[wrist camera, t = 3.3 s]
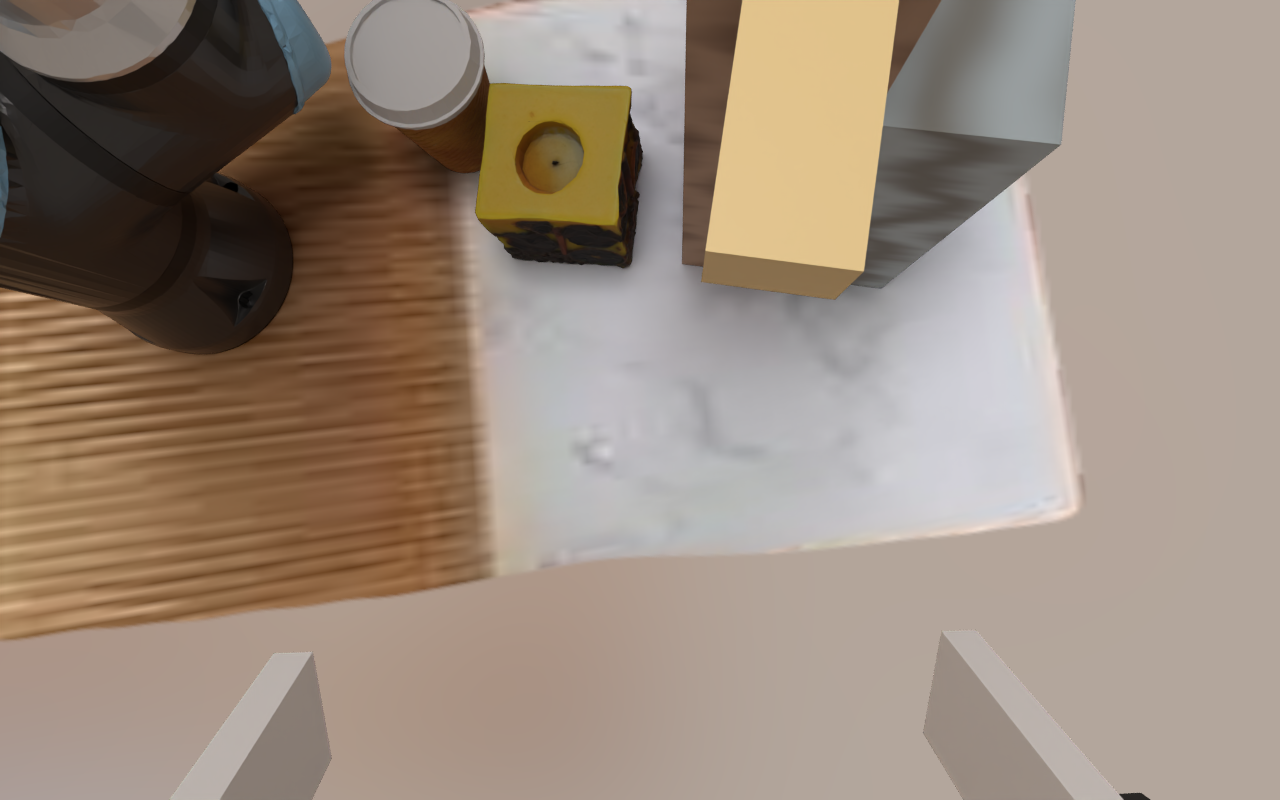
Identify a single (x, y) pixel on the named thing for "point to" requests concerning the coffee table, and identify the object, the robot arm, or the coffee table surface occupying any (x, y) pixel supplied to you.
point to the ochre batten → (800, 145)
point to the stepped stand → (910, 116)
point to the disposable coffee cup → (422, 76)
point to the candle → (560, 173)
